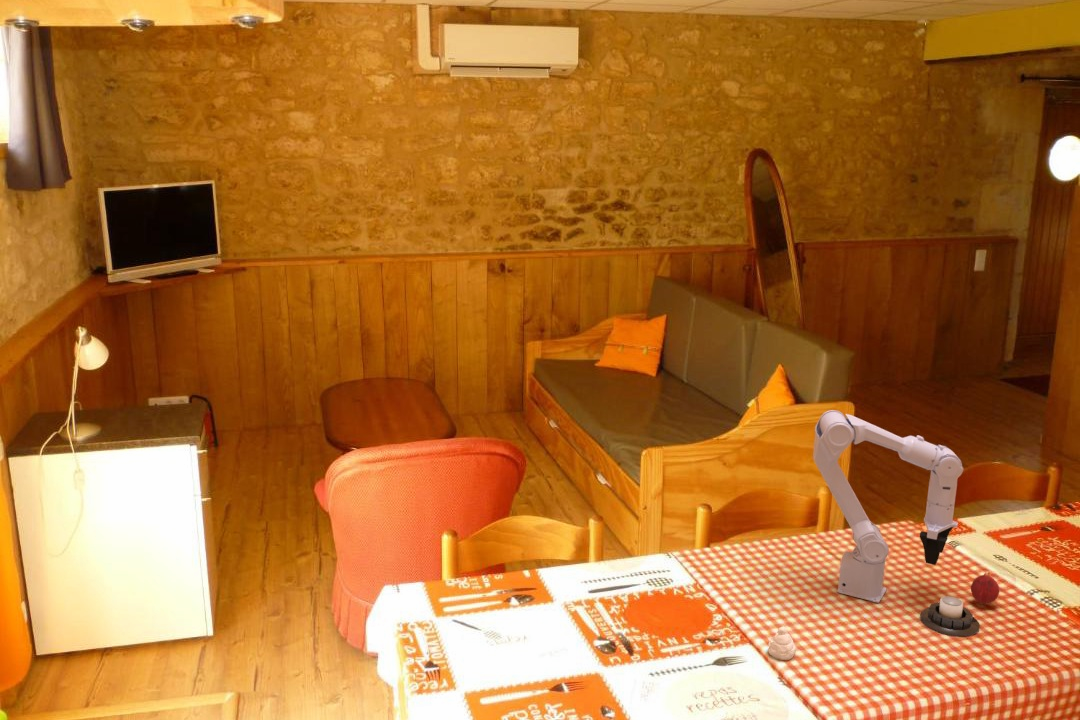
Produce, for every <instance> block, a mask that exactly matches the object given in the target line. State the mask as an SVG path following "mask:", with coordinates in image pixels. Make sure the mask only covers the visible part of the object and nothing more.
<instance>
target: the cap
mask: <svg viewBox="0 0 1080 720" xmlns="http://www.w3.org/2000/svg"><path fill="white" fill-rule="evenodd" d="M939 602H940V606H939V614H940V615H942V616H944V617H948V618H952V619H961V618H962V610H963V607H964V602H963V601H962V599H959V598H957V597H955V596H949V595H947V596H942V597H941V598H940V600H939Z"/></svg>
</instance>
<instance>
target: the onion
mask: <svg viewBox="0 0 1080 720" xmlns="http://www.w3.org/2000/svg"><path fill="white" fill-rule="evenodd" d="M990 573H991V572H989V571H988V570H986V571H985V572H984V573H983V574H982V575H980V576H977V577H975V579H974V580H973V581H972V583H971V586H970V593H971V594H972V596H973V598H974V599H975V600H976V601H977V602H978V603H979V604H980V605H982V606H983V605H984V606H985V605H988V604H991V603H993V602H994V601H996V599H998V597H999V594H1000V587H999V584H998V582H997V581H996V579H995V578H994V577H992V576H990Z"/></svg>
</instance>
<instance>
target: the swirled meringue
mask: <svg viewBox="0 0 1080 720" xmlns="http://www.w3.org/2000/svg"><path fill="white" fill-rule="evenodd" d="M767 647H768V649H767V650H768V654H769V655H771V657H773V658H775V659H777V660H781V661H788V660H792V659H793V657H794V655H795V653H796V651H797V648H796V646H795V643H794V640H793V638H792V637H791V634H789V632H788V630H787V628H786V627H785V626H783V625H782V626H781V627H779V628H778V630H777V632H776V633H775V635H773V636H772V637H771V638H770V640H769V642H768V645H767Z"/></svg>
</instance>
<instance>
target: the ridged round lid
mask: <svg viewBox="0 0 1080 720" xmlns="http://www.w3.org/2000/svg"><path fill="white" fill-rule="evenodd" d="M939 606H940V601H938V602H934V603H931V604H930V605H929V607H926V608H924V609H922V610H921V611H920V614H919V620H920V622H921V623H922V624H923V625H924V626H925V627H927V628H929V630H932V631H934V632H937V633H938V634H941V635H942V634H943V635H946V636H949V637H950V636H951V637H960V638H961V637H962V638H963V637H971V636H975V635H976V634H978V632H979V631H980V627H981V626H980V622H979V621H978V620H977V619H976V618H975V617H974V615H973V613H972V612H971V611H970V609H968V608H966V607H964V606H963V610H962V618H961V619H952V618H948V617H944V616H942V615H940V614H939Z"/></svg>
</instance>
